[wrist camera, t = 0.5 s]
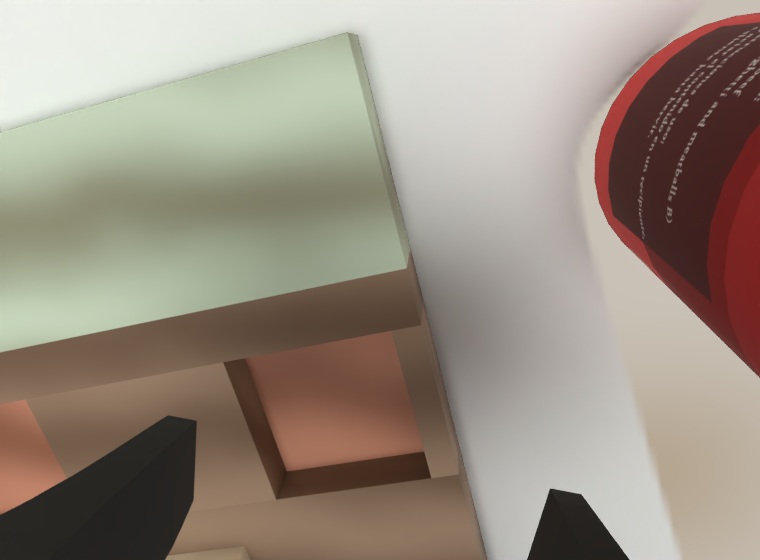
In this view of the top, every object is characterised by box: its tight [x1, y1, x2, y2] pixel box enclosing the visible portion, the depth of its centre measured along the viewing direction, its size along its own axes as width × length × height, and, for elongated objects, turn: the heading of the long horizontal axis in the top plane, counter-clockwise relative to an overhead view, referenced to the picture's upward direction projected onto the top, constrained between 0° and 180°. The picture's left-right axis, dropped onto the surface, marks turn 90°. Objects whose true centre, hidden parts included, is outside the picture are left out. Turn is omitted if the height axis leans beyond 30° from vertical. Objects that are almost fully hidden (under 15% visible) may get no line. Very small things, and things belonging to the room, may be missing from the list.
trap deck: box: [0, 33, 487, 560], centre depth 23 cm, size 24×22×2 cm
